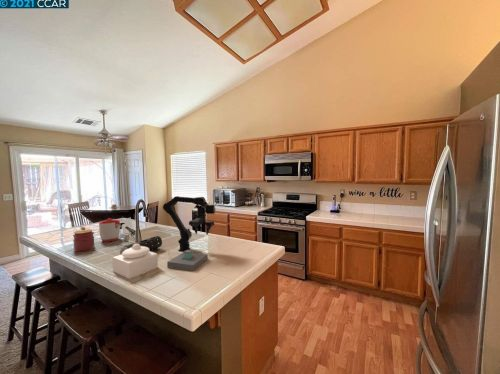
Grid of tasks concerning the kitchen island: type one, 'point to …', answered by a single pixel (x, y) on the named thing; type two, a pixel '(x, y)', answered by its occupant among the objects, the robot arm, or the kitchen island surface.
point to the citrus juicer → (109, 230)
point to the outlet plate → (187, 261)
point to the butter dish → (135, 261)
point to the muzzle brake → (146, 244)
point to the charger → (188, 254)
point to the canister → (83, 240)
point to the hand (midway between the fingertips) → (201, 234)
